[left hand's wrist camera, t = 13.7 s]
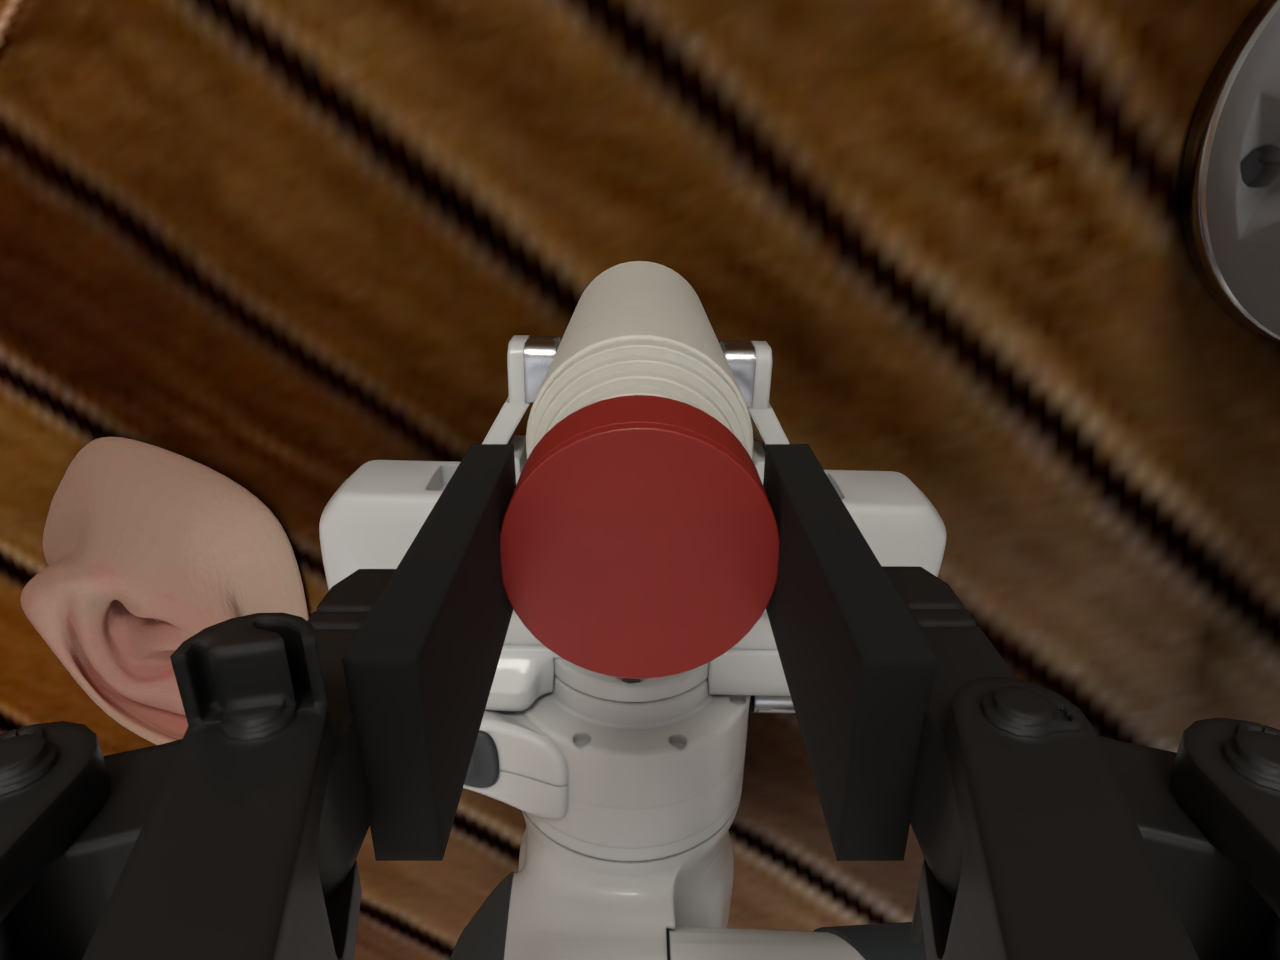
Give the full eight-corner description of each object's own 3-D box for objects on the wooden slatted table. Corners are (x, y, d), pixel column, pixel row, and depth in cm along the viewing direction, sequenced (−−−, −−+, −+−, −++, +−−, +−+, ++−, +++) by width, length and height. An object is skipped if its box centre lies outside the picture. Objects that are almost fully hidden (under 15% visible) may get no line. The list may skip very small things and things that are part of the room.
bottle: (562, 376, 31) (463, 649, 14) (588, 246, 29) (512, 368, 12) (686, 404, 32) (746, 703, 14) (720, 278, 30) (837, 441, 12)
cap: (496, 595, 15) (478, 651, 13) (539, 368, 13) (524, 398, 12) (726, 641, 15) (737, 701, 14) (795, 425, 14) (818, 463, 12)
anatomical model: (-49, 455, 28) (275, 505, 29) (31, 421, 32) (316, 466, 33) (-1, 745, 33) (275, 782, 34) (63, 687, 37) (311, 721, 37)
